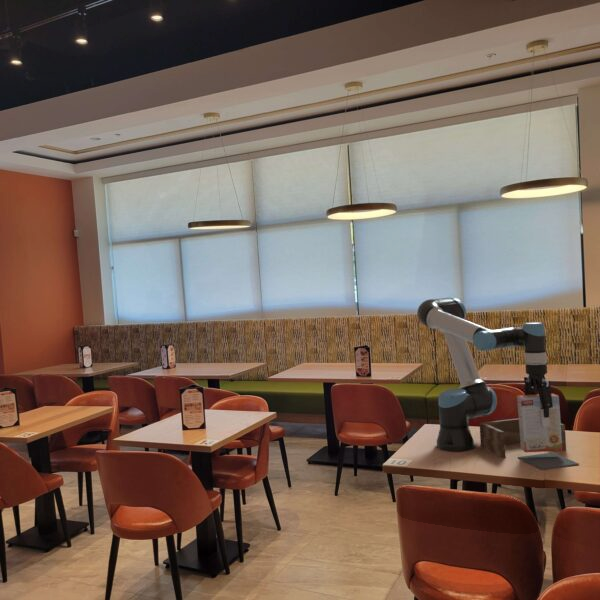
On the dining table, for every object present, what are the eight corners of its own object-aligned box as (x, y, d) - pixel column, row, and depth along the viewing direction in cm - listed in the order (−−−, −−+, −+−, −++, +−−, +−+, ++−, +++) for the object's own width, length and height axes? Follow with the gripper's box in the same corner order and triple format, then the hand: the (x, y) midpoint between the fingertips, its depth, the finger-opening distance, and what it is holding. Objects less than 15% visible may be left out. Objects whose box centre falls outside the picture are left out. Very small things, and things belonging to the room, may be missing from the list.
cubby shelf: (480, 446, 238) (479, 422, 238) (541, 439, 243) (539, 416, 243) (502, 457, 221) (500, 432, 221) (566, 449, 226) (564, 424, 226)
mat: (518, 458, 220) (518, 456, 220) (553, 453, 223) (553, 452, 223) (541, 469, 205) (541, 468, 205) (578, 465, 208) (578, 463, 208)
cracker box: (557, 446, 221) (554, 392, 220) (563, 451, 215) (559, 395, 214) (519, 448, 222) (516, 394, 222) (524, 452, 216) (521, 397, 216)
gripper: (561, 365, 209) (565, 428, 209) (529, 359, 228) (533, 417, 229) (542, 367, 207) (546, 430, 208) (512, 361, 227) (516, 419, 227)
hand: (539, 423), depth 218 cm, fingers closed on cracker box, 7 cm apart
